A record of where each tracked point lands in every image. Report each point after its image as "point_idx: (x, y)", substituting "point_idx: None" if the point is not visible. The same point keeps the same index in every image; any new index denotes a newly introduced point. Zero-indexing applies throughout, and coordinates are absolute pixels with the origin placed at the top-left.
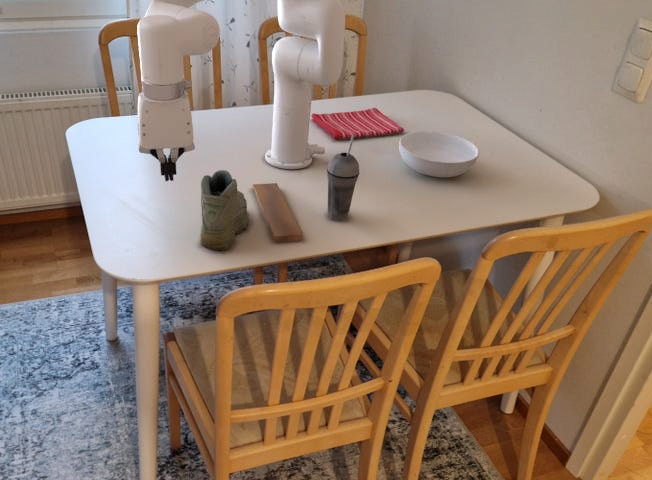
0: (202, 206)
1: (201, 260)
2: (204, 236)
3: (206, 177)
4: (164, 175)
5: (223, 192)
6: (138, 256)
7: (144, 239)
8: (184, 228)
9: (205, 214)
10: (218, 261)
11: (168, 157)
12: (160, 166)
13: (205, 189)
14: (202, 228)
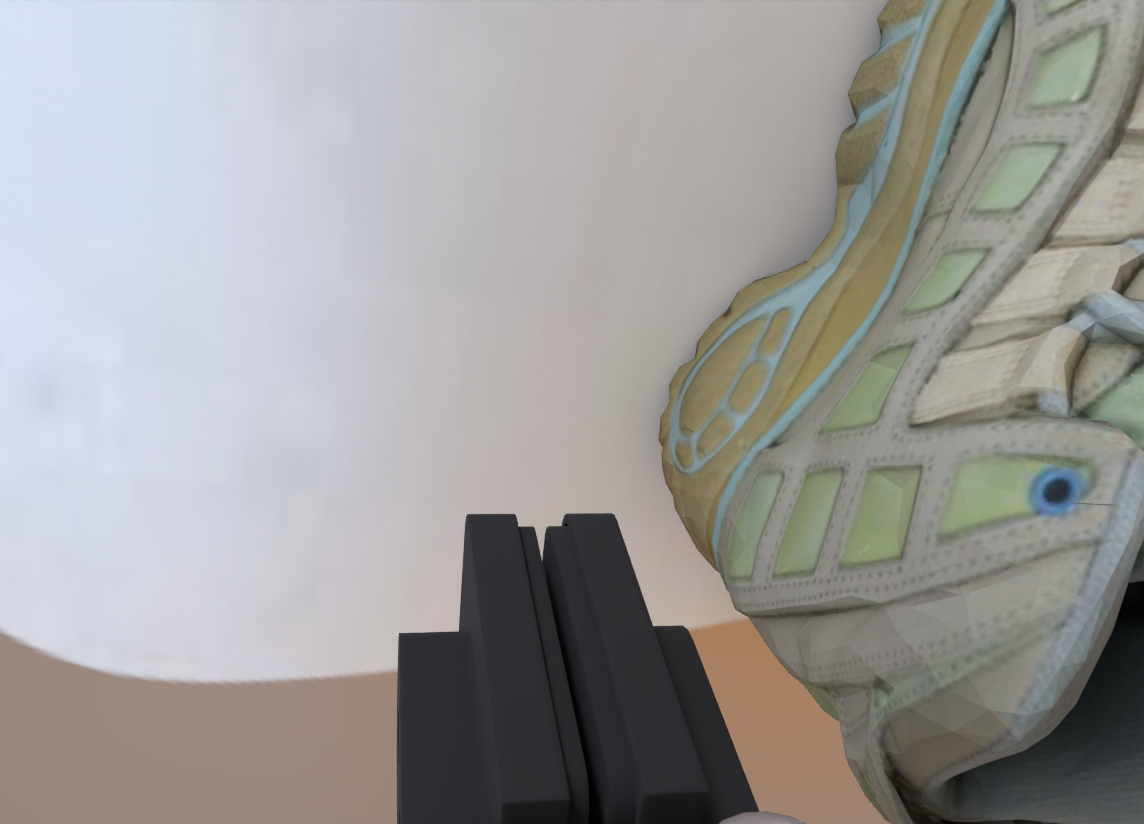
0: (802, 623)
1: None
2: (699, 549)
3: (1069, 707)
4: (464, 567)
5: (1089, 817)
6: (149, 482)
7: (196, 243)
8: (588, 118)
9: (785, 668)
10: (715, 595)
11: (631, 812)
12: (399, 803)
13: (933, 766)
14: (712, 537)
